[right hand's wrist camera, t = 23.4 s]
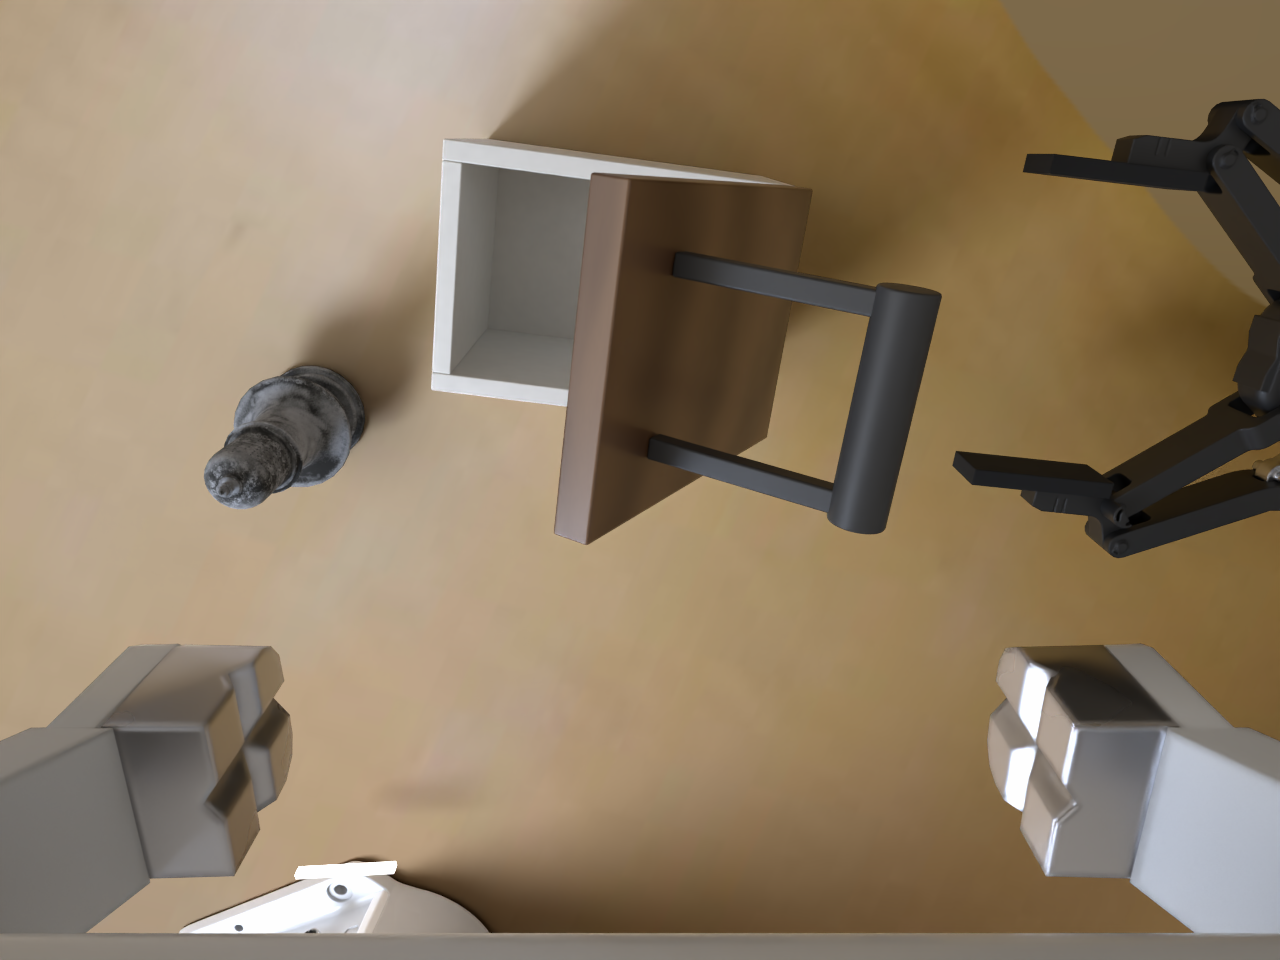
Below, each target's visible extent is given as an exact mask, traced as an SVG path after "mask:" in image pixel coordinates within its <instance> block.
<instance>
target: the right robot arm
mask: <svg viewBox="0 0 1280 960" xmlns="http://www.w3.org/2000/svg"><path fill="white" fill-rule="evenodd" d="M283 682H284V677H283V672H282V667H281V662H280V657H279V654H278V653H277V652H276V651H275V650H274V649H273V648H272V647H271V646H230V645H180V644H147V645H136V646H130V647H128V648H127V649H126V650H125V651H124V652H123V653H122V654H121V655H120V656H119V657H118V658H117V659H116V660H115V661H114V662H113V663H112V664H110V665H109V666H108V667H107V668H106V669H105V670H104V671H103V672H102V673H101V674H100V675H99V676H98V677H97V678H96V679H95V680H94V681H93V682H92V683H91V684H90V685H89V686H88V687H87V688H86V689H85V690H84V691H83V692H82V693H81V694H80V695H79V696H78V697H77V698H76V699H75V700H74V701H73V702H72V703H71V704H70V705H69V706H68V707H67V708H66V709H65V710H64V711H63V712H61V713H60V714H59V715H58V716H57V717H56V718H55V719H54V720H53V721H52V722H51V723H50V724H49V725H48V726H47V727H46V728H29V729H27V730H25V731H22V732H20V733H18V734H16V735H13V736H11V737H9V738H6V739H4V740H2V741H0V960H1280V741H1278V740H1276V739H1274V738H1271V737H1269V736H1267V735H1264V734H1262V733H1260V732H1258V731H1255V730H1253V729H1251V728H1234V727H1233V726H1232V725H1231V724H1230V723H1229V722H1228V721H1227V720H1226V719H1225V718H1224V717H1223V716H1222V715H1221V714H1220V713H1219V712H1218V711H1217V710H1216V709H1215V708H1214V707H1212V706H1211V705H1210V704H1209V703H1208V702H1207V701H1206V700H1205V699H1204V698H1203V697H1202V696H1201V695H1200V694H1199V693H1198V692H1197V691H1196V690H1195V689H1194V688H1193V687H1192V686H1191V685H1190V684H1189V683H1188V682H1187V681H1186V680H1185V679H1184V678H1183V677H1182V676H1181V675H1180V674H1179V673H1178V672H1177V671H1176V670H1175V669H1174V668H1173V667H1172V666H1171V665H1170V664H1169V663H1168V662H1167V661H1166V660H1165V659H1164V658H1163V657H1162V656H1161V655H1160V654H1159V653H1158V652H1157V651H1155V650H1154V649H1153V648H1152V647H1149V646H1146V645H1143V644H1117V645H1083V646H1043V647H1012V648H1005V650H1004V652H1003V654H1002V656H1001V658H1000V661H999V665H998V671H997V677H996V682H997V683H998V685H999V687H1000V688H1001V690H1002V691H1003V693H1004V694H1005V696H1006V697H1007V698H1006V699H1005V700H1004V701H1003V702H1002V703H1001V704H1000V705H999V706H998V707H997V708H996V709H995V711H994V712H993V713H992V714H991V715H990V721H989V729H988V737H987V745H988V756H989V766H990V769H991V772H992V775H993V779H994V782H995V784H996V786H997V788H998V790H999V792H1000V794H1001V796H1002V798H1003V800H1005V801H1006V802H1008V803H1009V804H1011V805H1012V806H1014V807H1015V808H1017V809H1018V810H1020V811H1022V812H1023V814H1022V819H1021V825H1020V831H1021V832H1022V834H1023V836H1024V838H1025V839H1026V841H1027V843H1028V845H1029V847H1030V848H1031V850H1032V852H1033V854H1034V856H1035V857H1036V859H1037V861H1038V863H1039V864H1040V866H1041V868H1042V870H1043V872H1044V873H1045V875H1046V876H1059V877H1095V878H1130V883H1131V884H1133V885H1134V886H1135V887H1136V888H1138V889H1139V890H1140V891H1142V892H1143V893H1144V894H1145V895H1147V896H1148V897H1149V898H1151V899H1152V900H1153V901H1154V902H1156V903H1157V904H1158V905H1160V906H1161V907H1162V908H1163V909H1165V910H1166V911H1167V912H1169V913H1170V914H1171V915H1172V916H1174V917H1175V918H1176V919H1178V920H1179V921H1180V922H1181V923H1183V924H1184V925H1185V926H1187V927H1188V928H1189V929H1190V930H1192V931H1193V932H1194V933H489V931H488V930H487V929H486V928H485V926H484V925H483V924H482V923H481V922H480V921H479V920H478V919H477V918H476V917H475V916H474V915H473V914H471V913H470V912H469V911H467V910H466V909H465V908H463V907H462V906H460V905H459V904H457V903H455V902H453V901H451V900H450V899H447V898H445V897H443V896H441V895H438V894H436V893H433V892H430V891H427V890H423V889H419V888H416V887H412V886H408V885H405V884H402V883H400V882H398V881H396V880H394V879H393V878H391V877H390V876H388V875H387V874H394V872H395V869H396V866H397V863H396V861H391V862H373V863H366V862H362V861H351V862H348V863H345V864H337V865H319V866H301V867H298V869H297V871H296V874H295V878H296V879H305V878H307V879H305V880H302V881H299V882H297V883H294V884H292V885H289V886H287V887H284V888H282V889H279V890H277V891H274V892H271V893H269V894H266V895H264V896H261V897H259V898H256V899H254V900H251V901H249V902H246V903H243V904H241V905H238V906H236V907H233V908H231V909H228V910H226V911H223V912H221V913H218V914H216V915H213V916H210V917H208V918H205V919H203V920H200V921H198V922H195V923H193V924H190V925H188V926H186V927H184V928H183V929H181V930H180V932H179V933H86V932H87V931H89V930H90V929H91V928H92V927H94V926H95V925H96V924H98V923H99V922H100V921H101V920H103V919H104V918H105V917H107V916H108V915H109V914H110V913H112V912H113V911H114V910H116V909H117V908H118V907H119V906H121V905H122V904H123V903H125V902H126V901H127V900H128V899H130V898H131V897H132V896H134V895H135V894H136V893H137V892H139V891H140V890H141V889H143V888H144V887H145V886H146V885H148V884H149V883H150V879H149V878H183V877H219V876H234V875H235V874H236V872H237V870H238V868H239V866H240V865H241V863H242V861H243V859H244V857H245V856H246V854H247V852H248V850H249V848H250V847H251V845H252V843H253V841H254V839H255V838H256V836H257V834H258V832H259V831H260V825H259V819H258V814H257V812H258V811H260V810H262V809H263V808H265V807H266V806H268V805H269V804H271V803H272V802H274V801H275V800H277V798H278V796H279V794H280V792H281V790H282V788H283V786H284V784H285V782H286V780H287V775H288V771H289V767H290V762H291V758H292V727H291V720H290V715H289V714H288V713H287V712H286V711H285V710H284V708H283V707H282V706H281V705H280V704H279V703H278V702H277V701H276V700H275V699H274V698H273V697H274V696H275V694H276V693H277V691H278V690H279V688H280V687H281V685H282V683H283ZM341 885H344V886H341Z"/></svg>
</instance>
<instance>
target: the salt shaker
mask: <svg viewBox="0 0 1280 960" xmlns="http://www.w3.org/2000/svg"><path fill="white" fill-rule="evenodd" d="M364 422H365V416H364V407H363V404H362V402H361V399H360V397H359V395H358V393H357V392H356V390H355V389H354V388H353V386H352V385H351V384H350V383H349V382H348V381H347V380H346V379H344V378H343V377H342V376H341V375H339V374H337V373H335V372H333V371H331V370H330V369H326V368H322V367H318V366H301V367H298V368H294V369H291V370H289V371H288V372H286V373H284V374H283V375H281V376H277V377H273V378H270V379H266V380H263V381H261V382H260V383H258V384H256V385H255V386H253V387H252V388H250V389H249V390H248V391H247V393H246V394H245V395H244V396H243V397H242V398H241V400H240V402H239V405H238V407H237V409H236V412H235V419H234V430H233V431H232V432H231V433H230V434H229V435H228V437H227V440H226V442H225V444H224V448H222V449H221V450H220V451H218V452H217V453H216V454H214V455H213V456H212V458H211V459H210V460H209V461H208V463H207V466H206V468H205V472H204V479H205V484H206V487H207V489H208V491H209V492H210V493H211V495H212V496H213V497H214V498H215V499H216V500H217V501H219V502H220V503H221V504H223V505H226V506H228V507H230V508H235V509H247V508H251V507H255V506H257V505H259V504H260V503H262V502H263V501H264V500H265V499H266V498H267V497H269V496H270V495H271V494H272V493H277V492H281V491H284V490H286V489H287V488H289V487H309V486H313V485H317V484H320V483H323V482H324V481H326V480H328V479H330V478H331V477H333V476H334V475H335V474H336V473H337V472H338V471H339V470H340V469H341V468H342V466H343V465H344V463H345V461H346V459H347V457H348V455H349V453H350V449H351V448H352V447H353V446H354V445H355V444H356V443H357V442H358V440H359V438H360V436H361V434H362V432H363V428H364Z"/></svg>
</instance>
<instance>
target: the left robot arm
mask: <svg viewBox="0 0 1280 960" xmlns="http://www.w3.org/2000/svg"><path fill="white" fill-rule="evenodd" d="M1247 158H1248V159H1249V160H1250V161H1251V162H1253V163H1254V164H1255V165H1256V166H1258V167H1259V168H1260V169H1261V170H1263V171H1264V172H1265V173H1266V174H1267V175H1269V176H1270V177H1271V178H1272V179H1274V180H1275V181H1276V182H1277V183H1279V184H1280V110H1279V109H1278V108H1277V107H1276V106H1274V105H1273V104H1272V103H1271V102H1270V101H1268V100H1266V99H1253V100H1242V101H1230V102H1221V103H1219V104H1217V105H1215V106H1214V107H1213V108H1212V109H1211V111H1210V113H1209V115H1208V126H1207V127H1206V129H1205V130H1204V132H1203V133H1202V134H1201V135H1200V136H1199V137H1198V138H1197V139H1195V140H1193V141H1191V140H1183V139H1175V138H1167V137H1159V136H1150V135H1137V136H1127V137H1124V138H1120V139H1117V141H1116V145H1115V149H1114V152H1113V156H1112V160H1111V161H1109V160H1100V159H1092V158H1083V157H1075V156H1067V155H1058V154H1027V157H1026V161H1025V165H1024V169H1023V172H1026V173H1035V174H1043V175H1052V176H1060V177H1069V178H1077V179H1085V180H1094V181H1102V182H1111V183H1119V184H1128V185H1136V186H1145V187H1153V188H1162V189H1172V190H1187V191H1197V192H1198V194H1199V195H1200V196H1201V198H1202V199H1203V201H1204V202H1205V203H1206V205H1207V206H1208V208H1209V209H1210V211H1211V212H1212V213H1213V215H1214V216H1215V218H1216V219H1217V221H1218V222H1219V223H1220V225H1221V226H1222V228H1223V229H1224V231H1225V232H1226V233H1227V235H1228V236H1229V238H1230V239H1231V241H1232V242H1233V243H1234V245H1235V246H1236V248H1237V249H1238V251H1239V252H1240V253H1241V255H1242V256H1243V258H1244V259H1245V261H1246V262H1247V263H1248V265H1249V266H1250V268H1251V269H1252V270H1253V272H1254V276H1253V280H1254V282H1255V283H1256V285H1257V286H1258V288H1259V289H1260V290H1261V292H1262V293H1263V295H1264V296H1265V298H1266V299H1267V300H1268V302H1269V303H1270V305H1269V306H1268V307H1267V308H1266V309H1265V310H1264V311H1263V313H1262V314H1261V315H1255V316H1254V319H1253V321H1252V324H1251V327H1250V330H1249V340H1248V349H1247V351H1246V352H1245V354H1244V356H1243V357H1242V359H1241V361H1240V362H1239V364H1238V366H1237V369H1236V372H1235V375H1234V378H1233V380H1232V381H1234V382H1237V383H1238V391H1237V392H1235V393H1234V394H1232V395H1230V396H1228V397H1227V398H1225V399H1223V400H1221V401H1220V402H1218V403H1216V404H1214V405H1213V406H1211V407H1210V408H1209V410H1208V414H1207V415H1206V416H1205V417H1203V418H1201V419H1199V420H1198V421H1196V422H1194V423H1192V424H1191V425H1189V426H1187V427H1185V428H1184V429H1182V430H1180V431H1178V432H1177V433H1175V434H1173V435H1171V436H1170V437H1168V438H1166V439H1164V440H1163V441H1161V442H1159V443H1157V444H1156V445H1154V446H1152V447H1150V448H1149V449H1147V450H1145V451H1143V452H1142V453H1140V454H1138V455H1136V456H1135V457H1133V458H1131V459H1129V460H1128V461H1126V462H1124V463H1122V464H1121V465H1119V466H1117V467H1115V468H1114V469H1112V470H1110V471H1108V472H1107V473H1105V474H1103V475H1101V474H1100V473H1098V472H1097V471H1095V470H1094V469H1092V468H1091V467H1089V466H1088V465H1085V464H1076V463H1066V462H1056V461H1047V460H1037V459H1028V458H1018V457H1009V456H999V455H990V454H980V453H970V452H961V451H956V453H955V457H954V461H953V465H952V466H953V467H954V468H955V469H956V470H957V471H958V472H960V473H961V474H962V475H963V476H964V477H965V478H966V479H967V480H968V481H969V482H970V483H971V484H972V485H980V486H989V487H999V488H1009V489H1018V490H1022V491H1021V496H1022V497H1023V498H1024V499H1025V500H1026V501H1027V502H1028V503H1030V504H1031V505H1032V506H1033V507H1035V508H1037V509H1039V510H1041V511H1047V512H1056V513H1066V514H1076V515H1086V516H1088V521H1087V523H1086V525H1085V532H1086V534H1087V535H1088V536H1089V537H1090V538H1091V539H1093V540H1094V541H1095V542H1096V543H1097V544H1098V545H1100V546H1101V547H1102V548H1103V549H1104V550H1106V551H1107V552H1108V553H1109V554H1110V555H1112V556H1113V557H1116V558H1122V557H1126V556H1129V555H1132V554H1135V553H1139V552H1142V551H1145V550H1148V549H1151V548H1154V547H1157V546H1161V545H1164V544H1167V543H1170V542H1173V541H1176V540H1179V539H1183V538H1186V537H1189V536H1192V535H1195V534H1198V533H1201V532H1205V531H1208V530H1211V529H1214V528H1217V527H1220V526H1223V525H1227V524H1230V523H1233V522H1236V521H1239V520H1242V519H1245V518H1249V517H1252V516H1255V515H1258V514H1261V513H1264V512H1268V511H1280V454H1279V455H1277V456H1276V457H1274V458H1270V459H1267V460H1264V461H1262V460H1258V461H1256V462H1255V463H1254V464H1253V466H1252V468H1253V469H1251V470H1241V471H1235V472H1231V473H1227V474H1223V475H1220V476H1217V477H1214V478H1211V479H1208V480H1205V481H1202V482H1199V483H1196V484H1193V485H1190V486H1186V485H1188V484H1190V483H1191V482H1193V481H1195V480H1197V479H1198V478H1200V477H1202V476H1204V475H1206V474H1207V473H1209V472H1211V471H1213V470H1215V469H1216V468H1218V467H1220V466H1222V465H1223V464H1225V463H1227V462H1229V461H1231V460H1232V459H1234V458H1236V457H1238V456H1240V455H1241V454H1243V453H1245V452H1247V451H1250V450H1260V449H1264V448H1267V447H1269V446H1271V445H1273V444H1274V443H1276V442H1278V441H1280V207H1279V205H1278V204H1277V202H1276V201H1275V199H1274V198H1273V196H1272V195H1271V193H1270V192H1269V190H1268V189H1267V187H1266V186H1265V184H1264V183H1263V181H1262V180H1261V179H1260V177H1259V176H1258V174H1257V173H1256V171H1255V170H1254V168H1253V167H1252V165H1251V164H1250V162H1249V161H1248V159H1247ZM1253 414H1255V415H1256V416H1257V417H1252V416H1251V415H1253ZM1184 486H1186V487H1184ZM1182 487H1183V488H1182Z"/></svg>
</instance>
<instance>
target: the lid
mask: <svg viewBox="0 0 1280 960" xmlns="http://www.w3.org/2000/svg"><path fill="white" fill-rule="evenodd" d="M811 196H812V189H809V188H802V187H795V186H789V185H777V184H762V183H747V182H732V181H717V180H702V179H688V178H673V177H658V176H643V175H628V174H613V173H598V172H594V173H592V174H591V178H590V188H589V197H588V207H587V217H586V226H585V236H584V246H583V255H582V265H581V275H580V284H579V294H578V304H577V313H576V323H575V333H574V343H573V352H572V362H571V372H570V381H569V391H568V401H567V410H566V420H565V430H564V439H563V449H562V459H561V468H560V478H559V488H558V497H557V507H556V517H555V527H554V533H555V534H556V535H559V536H562V537H565V538H568V539H571V540H573V541H576V542H579V543H582V544H585V545H588V544H590V543H591V542H593V541H595V540H596V539H598V538H600V537H601V536H603V535H605V534H606V533H608V532H610V531H611V530H613V529H615V528H616V527H618V526H620V525H621V524H623V523H625V522H626V521H628V520H630V519H631V518H633V517H635V516H636V515H638V514H640V513H641V512H643V511H645V510H646V509H648V508H650V507H651V506H653V505H655V504H656V503H658V502H660V501H661V500H663V499H665V498H666V497H668V496H670V495H671V494H673V493H675V492H676V491H678V490H680V489H681V488H683V487H685V486H686V485H688V484H690V483H691V482H693V481H695V480H696V479H698V478H700V477H702V476H707V477H710V478H713V479H717V480H720V481H723V482H727V483H730V484H733V485H737V486H740V487H743V488H747V489H750V490H753V491H757V492H760V493H763V494H767V495H770V496H773V497H777V498H780V499H783V500H787V501H790V502H793V503H797V504H800V505H803V506H807V507H810V508H813V509H817V510H820V511H823V512H827V518H828V520H829V521H830V522H831V523H832V524H834V525H835V526H837V527H839V528H842V529H844V530H847V531H851V532H855V533H860V534H878V533H881V532H883V531H884V530H885V528H886V524H887V520H888V516H889V512H890V508H891V503H892V499H893V495H894V491H895V487H896V483H897V479H898V475H899V470H900V466H901V462H902V458H903V454H904V450H905V446H906V442H907V438H908V433H909V429H910V425H911V421H912V417H913V413H914V409H915V405H916V401H917V396H918V392H919V388H920V384H921V380H922V376H923V372H924V368H925V363H926V359H927V355H928V351H929V347H930V343H931V339H932V335H933V331H934V326H935V322H936V318H937V314H938V310H939V306H940V302H941V298H942V296H941V294H940V293H939V292H936V291H934V290H930V289H926V288H921V287H916V286H911V285H904V284H896V283H879V284H878V285H877V287H873V286H868V285H863V284H857V283H852V282H847V281H841V280H836V279H831V278H826V277H820V276H815V275H810V274H804V273H799V272H798V266H799V261H800V255H801V250H802V245H803V239H804V234H805V228H806V223H807V218H808V212H809V207H810V202H811ZM792 301H795V302H800V303H805V304H809V305H814V306H819V307H824V308H829V309H834V310H839V311H844V312H849V313H854V314H859V315H863V316H868V317H870V319H869V323H868V328H867V333H866V337H865V342H864V347H863V351H862V356H861V360H860V365H859V370H858V374H857V379H856V383H855V388H854V393H853V397H852V402H851V406H850V411H849V416H848V420H847V425H846V429H845V434H844V439H843V443H842V448H841V452H840V457H839V462H838V466H837V471H836V476H835V480H834V483H831V482H827V481H824V480H820V479H817V478H813V477H810V476H806V475H803V474H799V473H796V472H792V471H789V470H785V469H782V468H778V467H775V466H771V465H768V464H764V463H761V462H757V461H754V460H750V459H747V458H743V457H739V456H737V455H738V454H740V453H742V452H743V451H745V450H747V449H748V448H750V447H752V446H753V445H755V444H757V443H758V442H760V441H762V440H763V439H765V438H766V437H767V433H768V428H769V422H770V417H771V412H772V406H773V401H774V395H775V390H776V385H777V379H778V374H779V368H780V363H781V358H782V352H783V347H784V342H785V336H786V331H787V325H788V320H789V315H790V309H791V304H792Z"/></svg>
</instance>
